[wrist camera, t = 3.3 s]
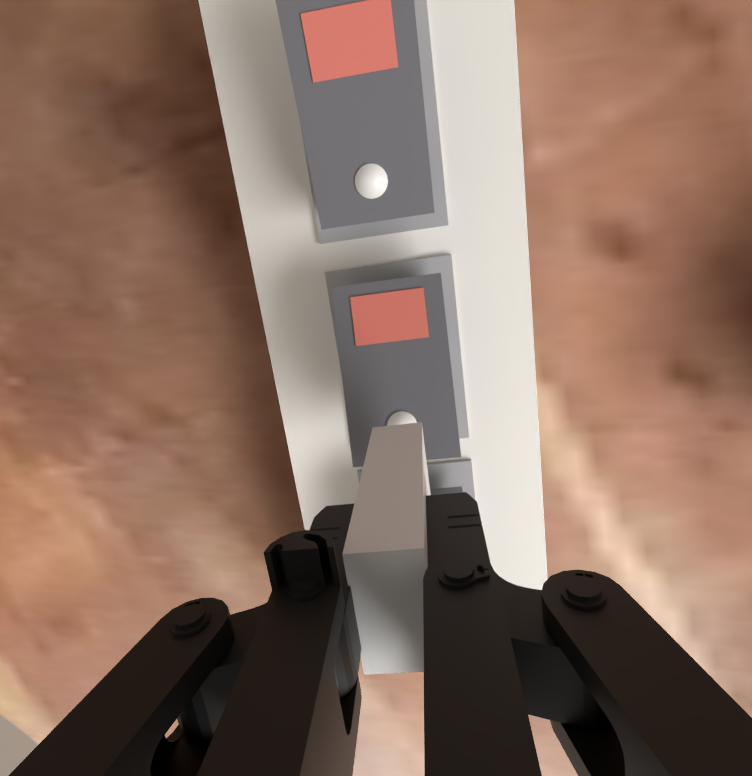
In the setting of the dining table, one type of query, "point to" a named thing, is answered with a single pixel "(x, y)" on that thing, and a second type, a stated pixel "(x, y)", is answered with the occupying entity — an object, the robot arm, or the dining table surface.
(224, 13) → the strip
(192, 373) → the dining table surface
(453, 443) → the rocker mid
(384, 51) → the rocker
